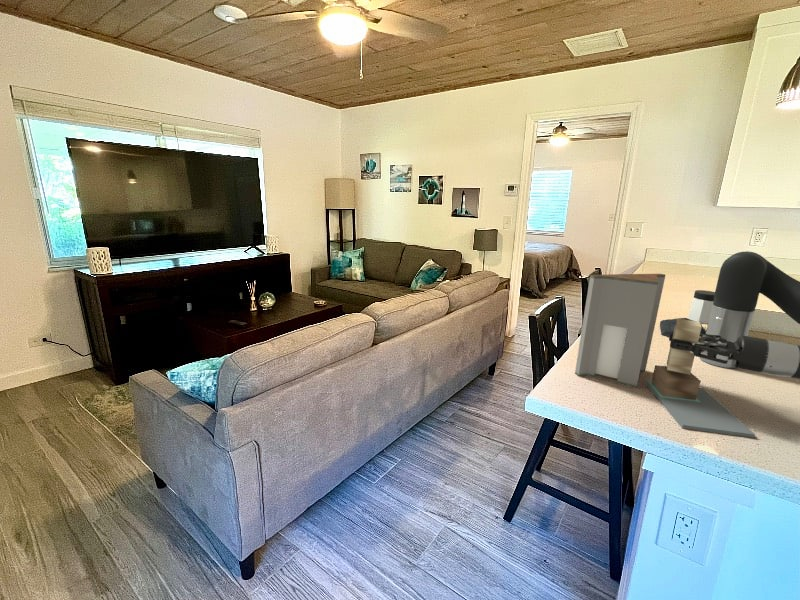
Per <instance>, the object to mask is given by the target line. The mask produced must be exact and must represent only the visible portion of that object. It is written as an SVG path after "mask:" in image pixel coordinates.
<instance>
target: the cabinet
mask: <svg viewBox="0 0 800 600" xmlns="http://www.w3.org/2000/svg"><path fill="white" fill-rule="evenodd" d="M665 279H666V274H665V273H621V274H620V273H619V274H616V273H614V274H590V276H589V281H588V287H587V294H586V299H585V300H586V301H585V306H584V312H583V313H584V314H583V320H582V326H581V333H580V340H579V344H578V345H579V346H578V350H577V351H578V352H577V358H576V365H575V371H574V374H575V375H576V377H591V378H595V379H599V380H603V381H607V382H610V383H616V384H619V385H622V386H627V387H630V388H634V389H637V387H638V383H639V378H640V373H645V372H646V370H647V364H648V360H649V355H650V351H651V345H652V340H653V336H654V331H655V326H656V322H657V318H658V313H659V308H660V303H661V298H662V293H663V289H664V284H665Z"/></svg>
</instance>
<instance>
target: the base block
mask: <svg viewBox="0 0 800 600" xmlns="http://www.w3.org/2000/svg"><path fill="white" fill-rule="evenodd" d="M650 382H651V383H652V384H653V385H654V386H655V388H656V389H657V390H658V391H659V392H660V393H661V394H662V396H666V397H674V398H683V399H691V400H696V398H697V394H698V390H699V388H700V386H701V380H700V379H699V378H697V377H696V376H695V374H694V373H692V372H691V373H690V375H689V374H684V373H680V372H675V371H670V370H667V365H658V364H657V365H656V364H655V365H654V368H653V373H652V377H651V381H650Z"/></svg>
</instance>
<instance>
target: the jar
mask: <svg viewBox="0 0 800 600" xmlns="http://www.w3.org/2000/svg"><path fill="white" fill-rule="evenodd" d="M714 295H715V291H710V290H702V289H700V290H698V289H697V290H694V295H693V297H692V300H691V305H690V309H689V313H688V317H687V318H688V319H690V320H693V321H697V322H700V324H701V325H702V324H703V325H704V324H705V325H708V322H709V318H710V314H711V310H712V306H713V302H714Z"/></svg>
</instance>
